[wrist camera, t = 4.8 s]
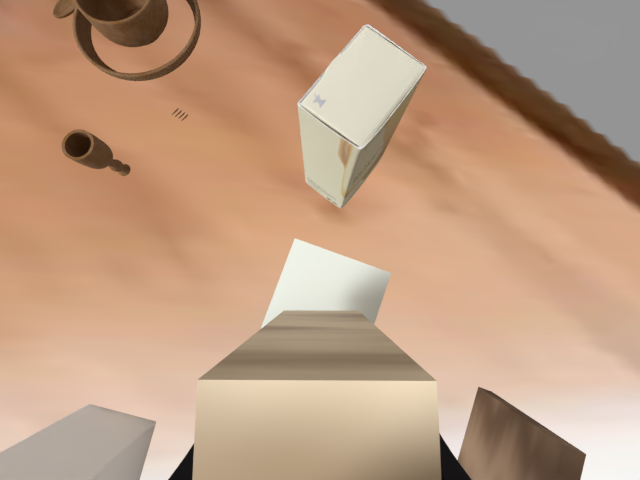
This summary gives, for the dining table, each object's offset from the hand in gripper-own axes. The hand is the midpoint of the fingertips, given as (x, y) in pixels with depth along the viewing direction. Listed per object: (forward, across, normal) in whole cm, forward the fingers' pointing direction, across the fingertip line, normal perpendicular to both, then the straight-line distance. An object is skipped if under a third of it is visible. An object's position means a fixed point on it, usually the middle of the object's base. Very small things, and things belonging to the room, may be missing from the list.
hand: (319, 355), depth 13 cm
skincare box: (+19, -2, 0) cm, 19 cm away
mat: (+10, 0, +9) cm, 13 cm away
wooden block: (+4, 0, +6) cm, 7 cm away
